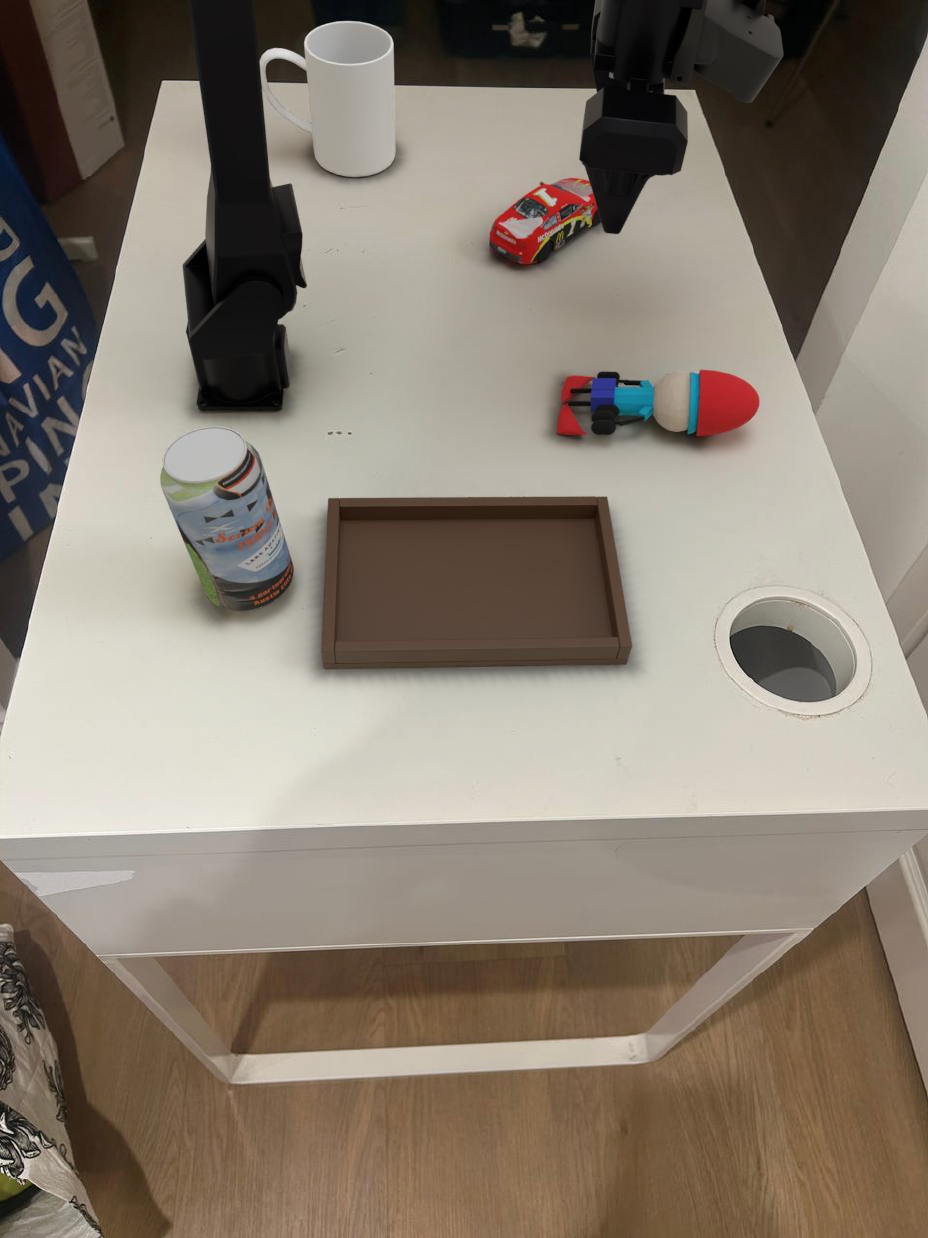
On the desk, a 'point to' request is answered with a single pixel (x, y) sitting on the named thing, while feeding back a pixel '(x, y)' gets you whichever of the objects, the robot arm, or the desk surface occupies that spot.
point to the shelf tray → (472, 583)
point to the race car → (544, 220)
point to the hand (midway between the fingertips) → (614, 193)
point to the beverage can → (227, 517)
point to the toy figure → (662, 402)
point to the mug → (345, 96)
